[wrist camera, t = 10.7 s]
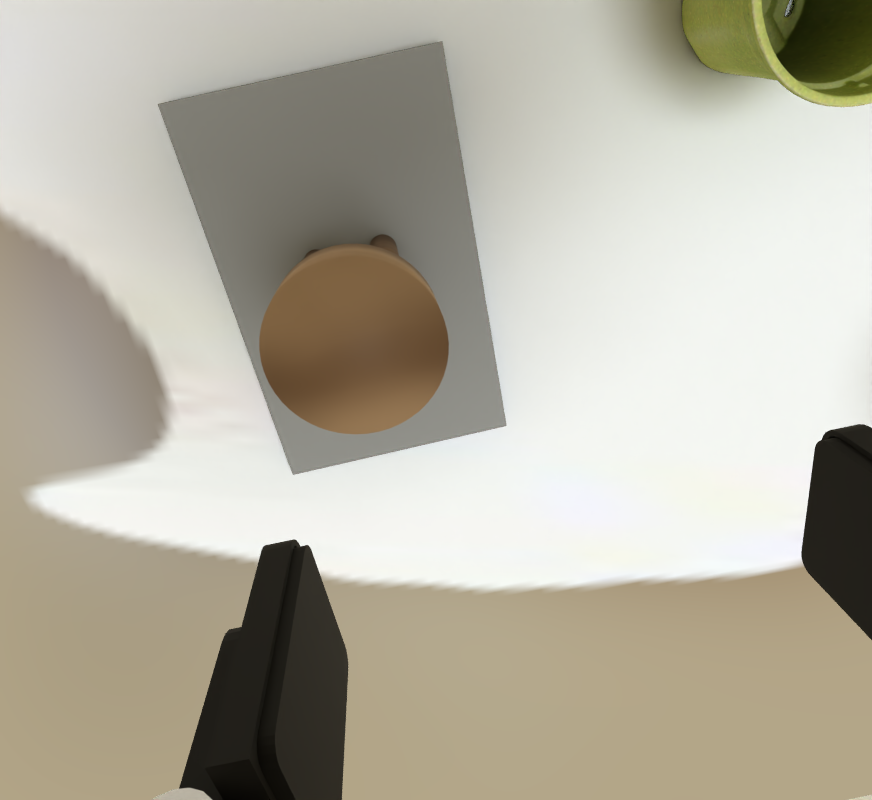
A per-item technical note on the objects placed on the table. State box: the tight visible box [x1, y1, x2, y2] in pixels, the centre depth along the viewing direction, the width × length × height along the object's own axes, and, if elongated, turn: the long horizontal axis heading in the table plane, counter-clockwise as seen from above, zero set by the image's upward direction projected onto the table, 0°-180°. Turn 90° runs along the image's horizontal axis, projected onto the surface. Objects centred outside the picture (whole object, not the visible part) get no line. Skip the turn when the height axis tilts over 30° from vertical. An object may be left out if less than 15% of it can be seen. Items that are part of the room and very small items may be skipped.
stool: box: [259, 234, 449, 434], centre depth 26 cm, size 7×7×10 cm
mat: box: [158, 42, 506, 475], centre depth 31 cm, size 20×13×1 cm, turn 11°
